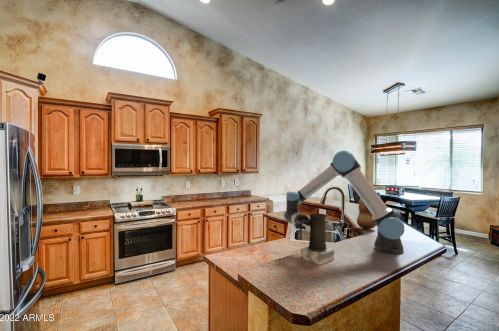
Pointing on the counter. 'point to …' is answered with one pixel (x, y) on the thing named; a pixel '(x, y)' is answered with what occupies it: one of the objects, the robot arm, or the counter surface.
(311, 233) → the container
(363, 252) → the counter surface
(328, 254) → the stand
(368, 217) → the butternut squash
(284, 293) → the counter surface
